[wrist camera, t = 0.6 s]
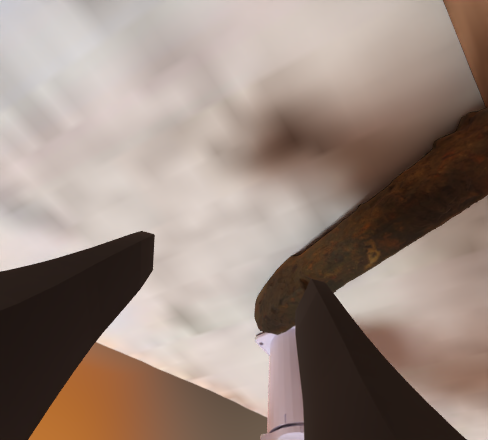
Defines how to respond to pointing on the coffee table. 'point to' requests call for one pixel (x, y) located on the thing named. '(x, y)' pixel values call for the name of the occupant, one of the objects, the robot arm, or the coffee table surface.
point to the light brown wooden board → (473, 37)
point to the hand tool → (385, 222)
